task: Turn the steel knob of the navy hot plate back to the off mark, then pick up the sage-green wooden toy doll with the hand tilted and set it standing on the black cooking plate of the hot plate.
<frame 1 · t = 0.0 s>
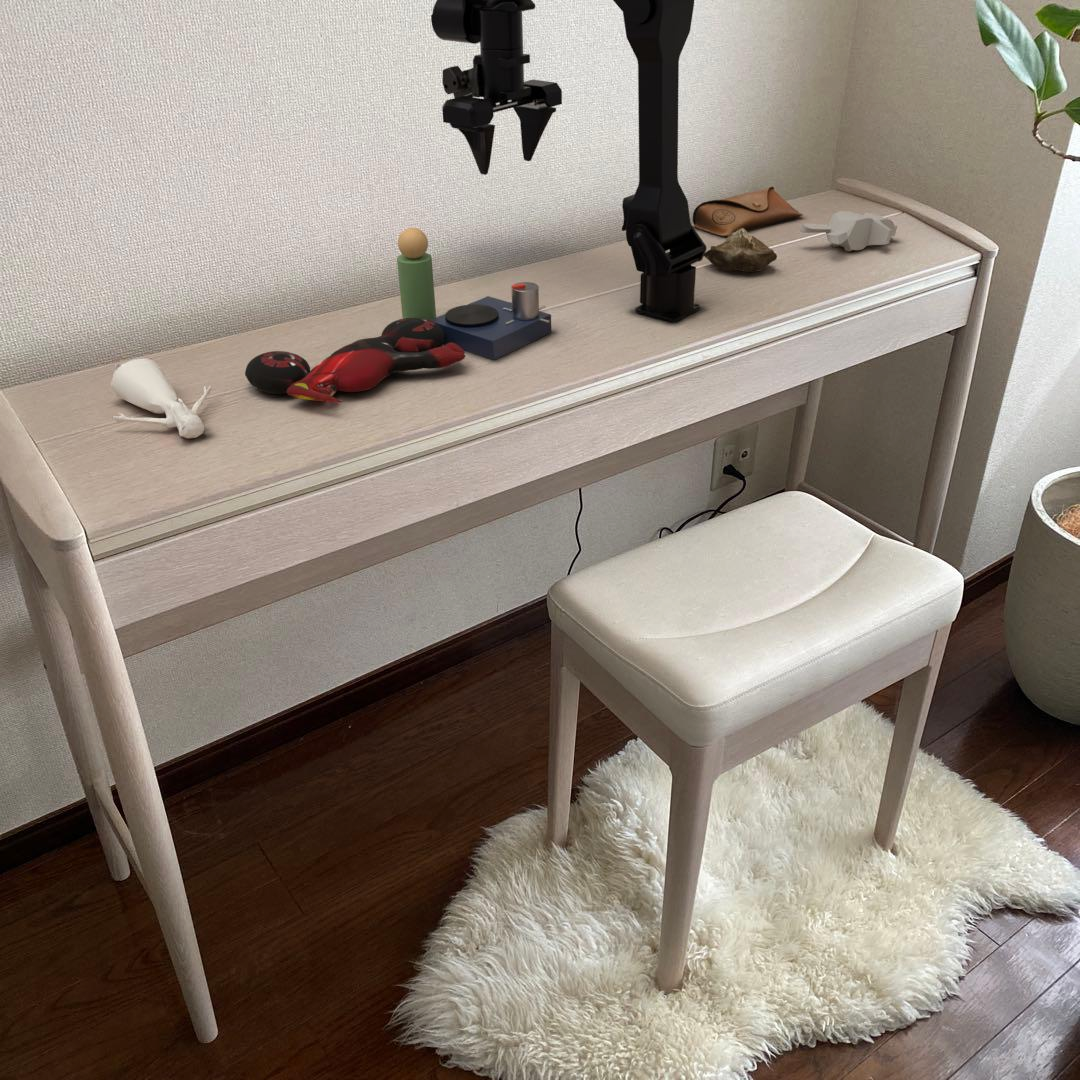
hand: (506, 167, 150), 15 cm above the table, tool pointing down, fingers open, 9 cm apart
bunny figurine: (850, 248, 163), on the table
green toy: (420, 325, 140), on the table
hot plate: (491, 335, 136), on the table
woman figurine: (164, 415, 119), on the table
stove knob: (525, 299, 134), point 5 cm above the table, hinge at 60.0°
toy motorcycle: (363, 381, 126), on the table
sunglasses case: (748, 223, 175), on the table
burner plate: (472, 317, 135), resting on hot plate
fossilized seashell: (739, 270, 155), on the table
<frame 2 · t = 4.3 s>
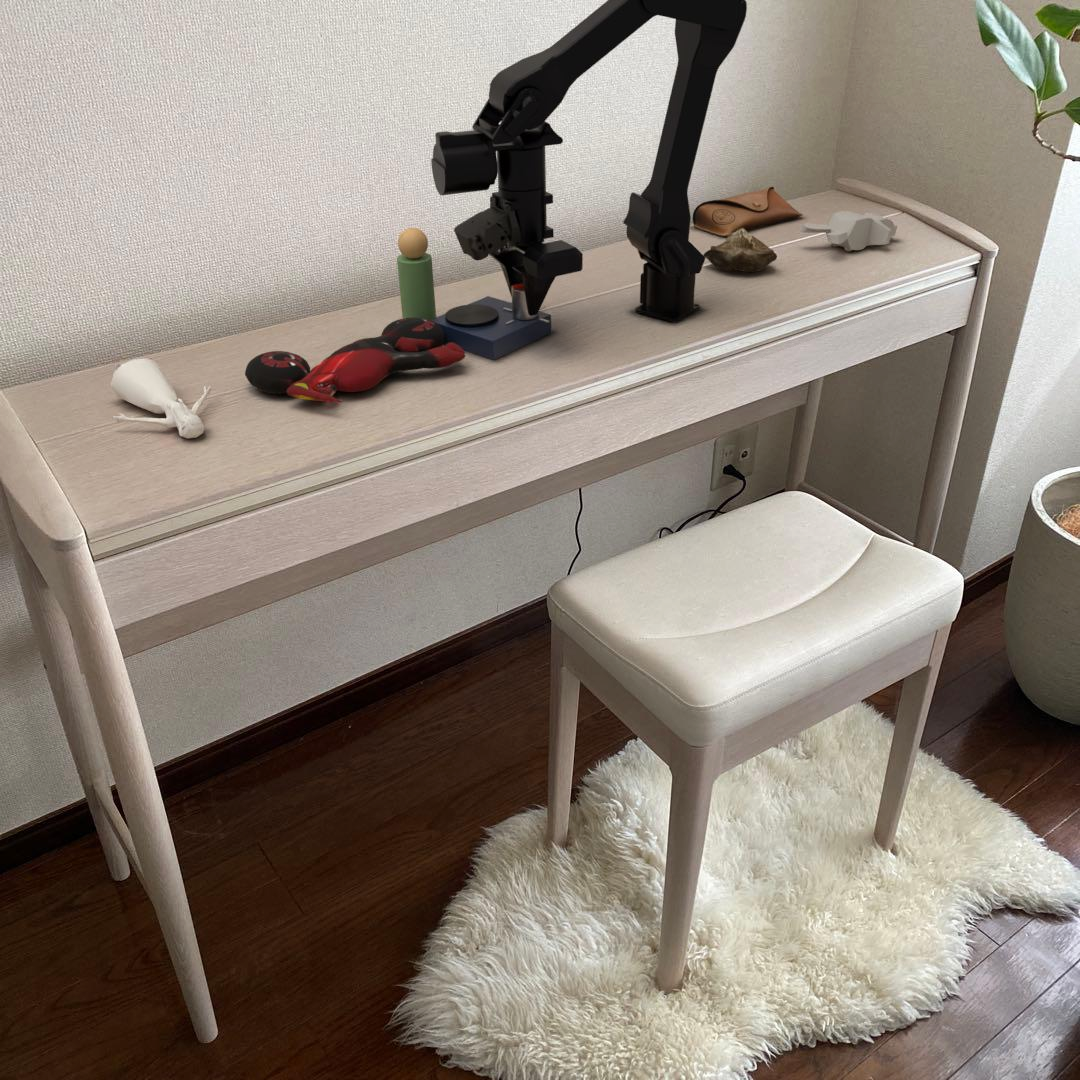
hand: (525, 310, 135), 3 cm above the table, tool pointing down, fingers closed on stove knob, 3 cm apart
stove knob: (525, 299, 134), point 5 cm above the table, hinge at 60.0°, touching gripper
everything else where it was.
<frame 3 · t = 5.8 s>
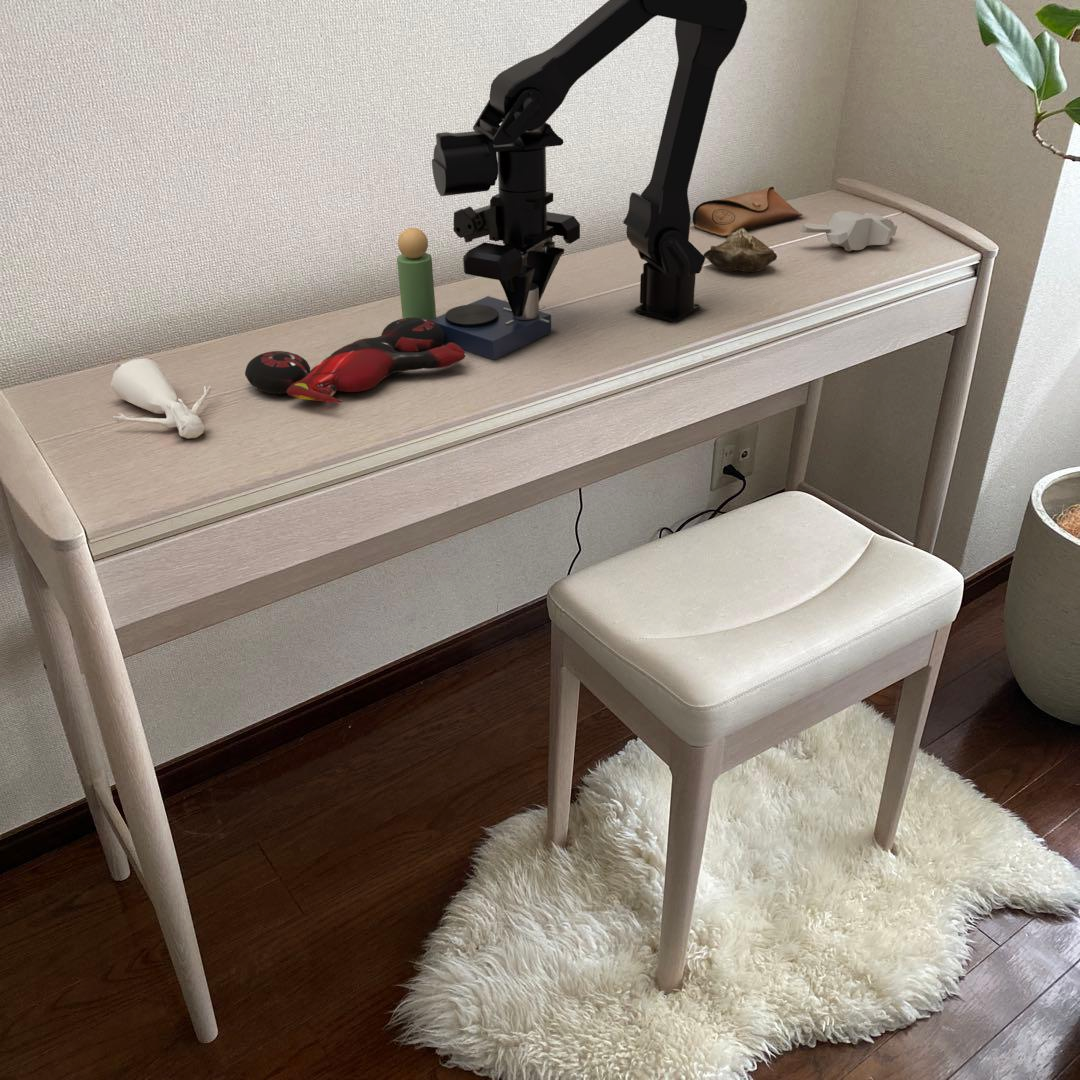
hand: (525, 311, 135), 3 cm above the table, tool pointing down, fingers closed on stove knob, 3 cm apart
stove knob: (525, 299, 134), point 5 cm above the table, hinge at 0.0°, touching gripper
everything else where it was.
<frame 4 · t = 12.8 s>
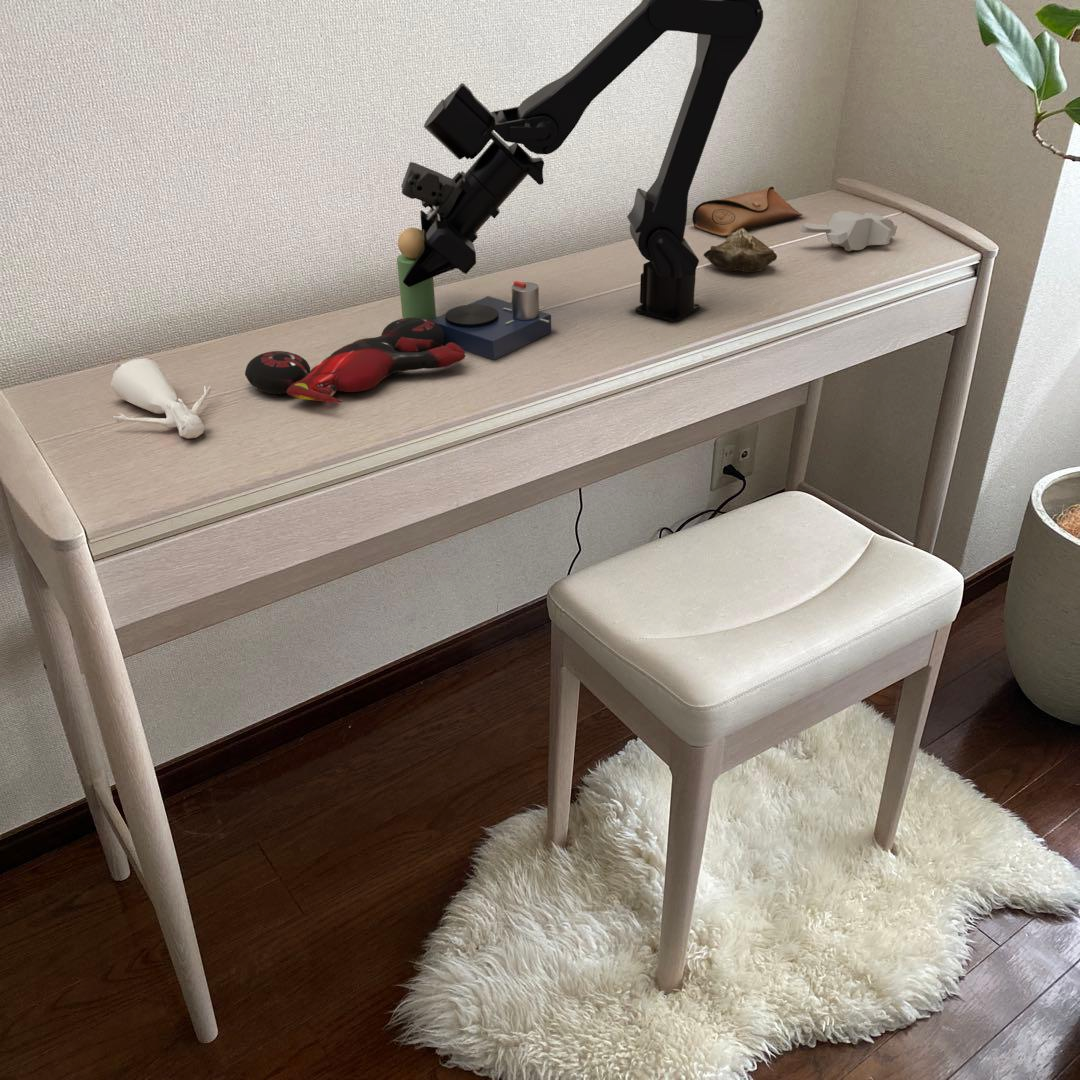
hand: (405, 278, 136), 7 cm above the table, tool tilted 45°, fingers closed on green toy, 4 cm apart
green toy: (420, 325, 140), on the table, touching gripper
stove knob: (525, 299, 134), point 5 cm above the table, hinge at -0.2°
everything else where it was.
when the fingers open (10 cm above the table, at t = 17.5 s): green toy stays where it is, resting on burner plate.
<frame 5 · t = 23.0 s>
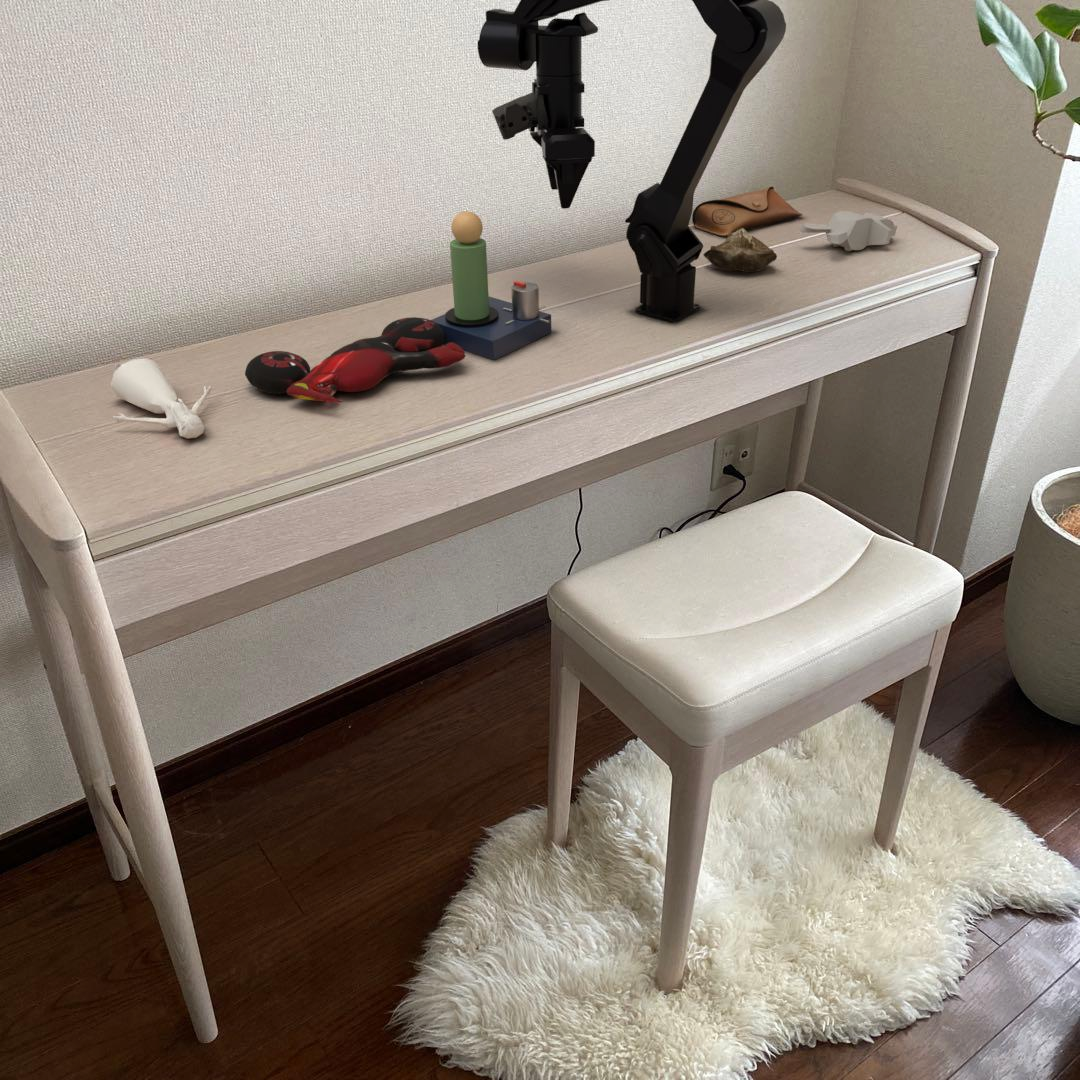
hand: (560, 198, 142), 13 cm above the table, tool pointing down, fingers open, 9 cm apart
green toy: (472, 314, 135), point 3 cm above the table, touching burner plate
everything else where it was.
at the end: stove knob at +0° (first picture: +60°); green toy 0.0 cm off-centre on the burner plate, point 0.5 cm above the burner plate's base; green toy tilted 0° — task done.
